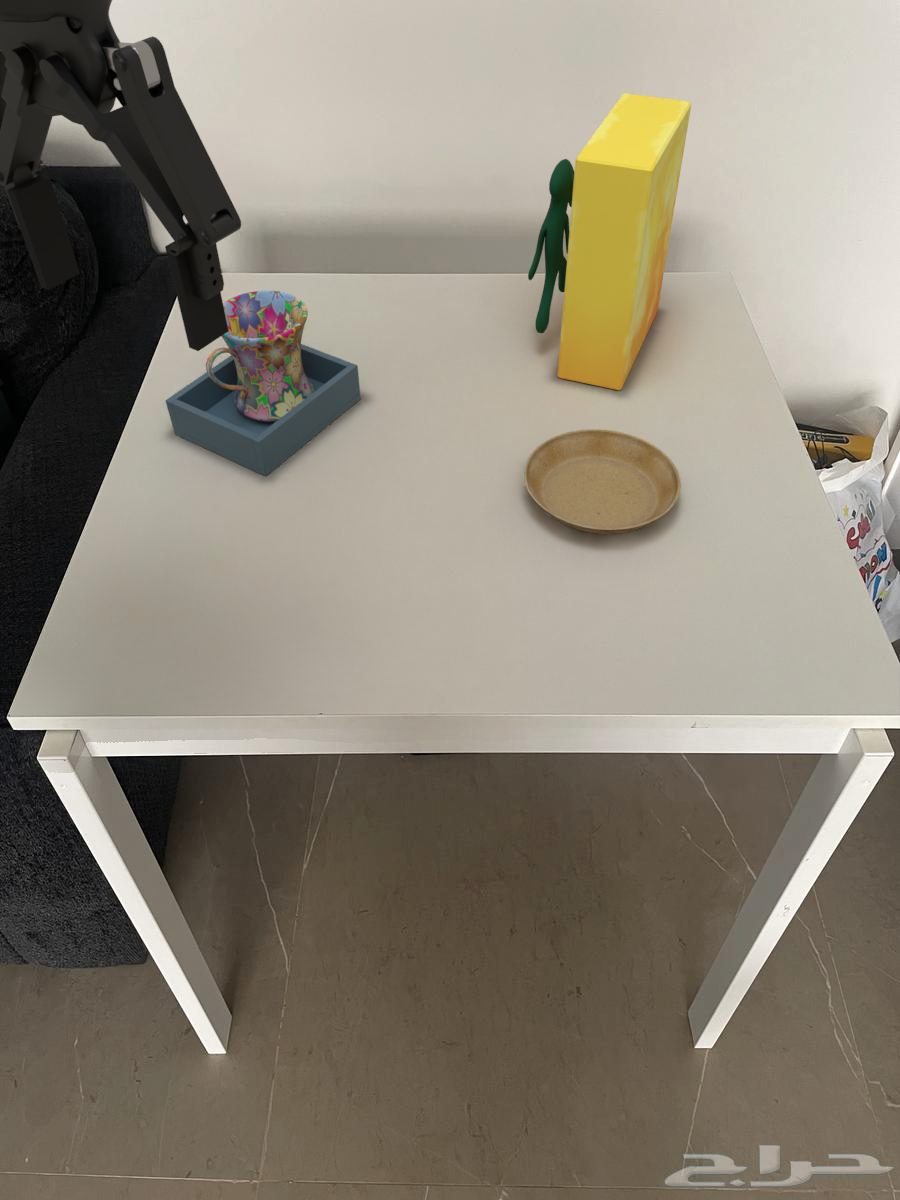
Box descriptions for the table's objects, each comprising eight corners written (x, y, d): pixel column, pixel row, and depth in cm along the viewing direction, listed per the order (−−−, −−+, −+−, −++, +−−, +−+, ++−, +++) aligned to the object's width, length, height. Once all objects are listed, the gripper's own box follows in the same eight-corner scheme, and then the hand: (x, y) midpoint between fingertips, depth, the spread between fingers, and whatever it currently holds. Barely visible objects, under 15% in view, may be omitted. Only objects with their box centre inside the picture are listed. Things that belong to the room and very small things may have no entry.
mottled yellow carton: (558, 294, 117) (575, 86, 100) (657, 312, 114) (692, 100, 97) (513, 369, 106) (522, 150, 89) (620, 391, 103) (652, 168, 86)
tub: (174, 434, 99) (165, 400, 96) (272, 363, 108) (267, 330, 104) (265, 476, 94) (258, 442, 91) (360, 399, 103) (357, 365, 100)
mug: (278, 368, 106) (263, 280, 98) (337, 399, 101) (326, 310, 94) (194, 418, 99) (171, 328, 92) (252, 454, 95) (233, 363, 87)
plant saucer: (634, 437, 98) (638, 416, 96) (704, 528, 88) (709, 507, 86) (500, 466, 95) (501, 446, 93) (558, 565, 85) (560, 544, 83)
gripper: (267, -74, 43) (318, 338, 59) (-75, -131, 53) (48, 236, 68) (146, -35, 39) (236, 398, 54) (-202, -105, 48) (-40, 280, 64)
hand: (131, 309), depth 61 cm, fingers open, 13 cm apart
